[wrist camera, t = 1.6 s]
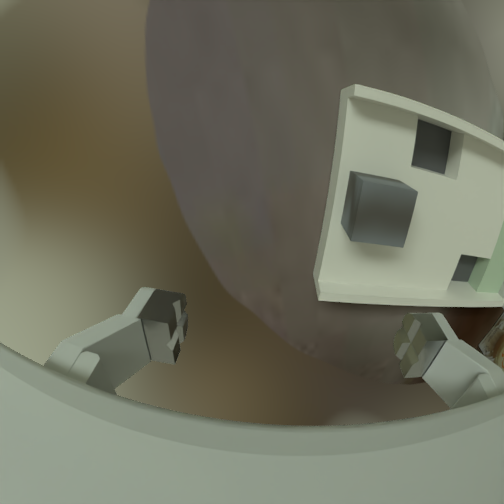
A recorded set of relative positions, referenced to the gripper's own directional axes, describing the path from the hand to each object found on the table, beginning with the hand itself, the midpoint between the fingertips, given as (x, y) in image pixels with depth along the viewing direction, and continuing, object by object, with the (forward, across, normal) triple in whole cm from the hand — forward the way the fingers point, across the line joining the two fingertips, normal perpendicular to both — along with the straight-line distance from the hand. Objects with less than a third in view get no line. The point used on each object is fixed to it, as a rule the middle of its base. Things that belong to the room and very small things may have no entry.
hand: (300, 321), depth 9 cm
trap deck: (+20, -20, 0) cm, 28 cm away
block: (+17, -8, 0) cm, 19 cm away
